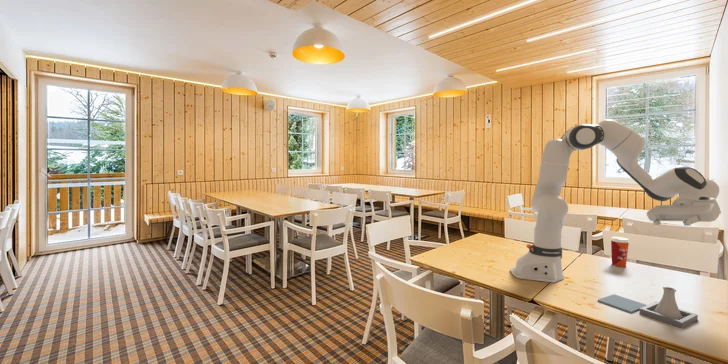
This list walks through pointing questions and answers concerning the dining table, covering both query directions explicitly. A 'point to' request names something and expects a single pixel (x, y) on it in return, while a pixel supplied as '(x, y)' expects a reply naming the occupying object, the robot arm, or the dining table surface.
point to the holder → (680, 323)
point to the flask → (668, 304)
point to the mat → (622, 303)
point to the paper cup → (619, 251)
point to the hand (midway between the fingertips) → (670, 223)
